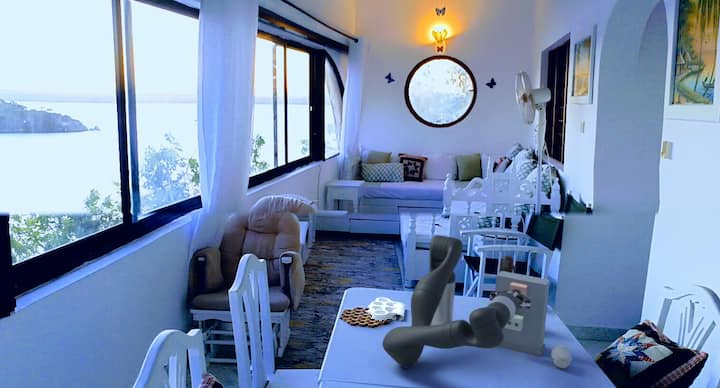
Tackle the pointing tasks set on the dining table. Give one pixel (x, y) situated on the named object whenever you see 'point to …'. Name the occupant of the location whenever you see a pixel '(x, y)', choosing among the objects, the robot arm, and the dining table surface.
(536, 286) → the large grey rectangular box
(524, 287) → the pink rectangular block
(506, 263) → the lantern
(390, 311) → the white bumpy piece
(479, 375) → the dining table surface
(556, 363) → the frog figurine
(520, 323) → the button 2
